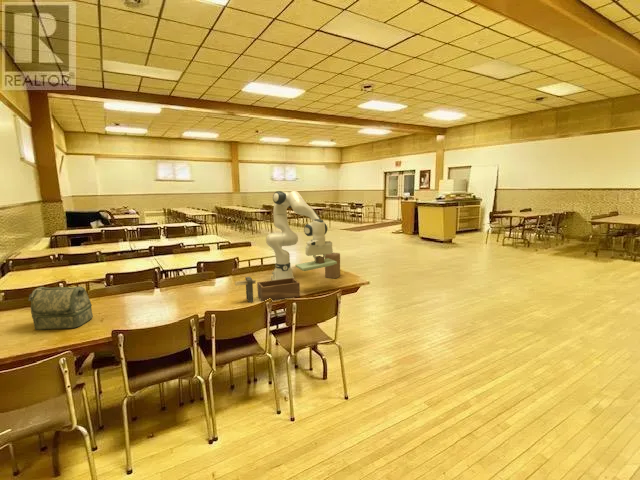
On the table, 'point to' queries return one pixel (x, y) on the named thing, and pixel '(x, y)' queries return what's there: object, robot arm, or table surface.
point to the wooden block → (333, 266)
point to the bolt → (244, 282)
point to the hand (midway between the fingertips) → (319, 260)
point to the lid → (316, 264)
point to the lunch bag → (60, 307)
